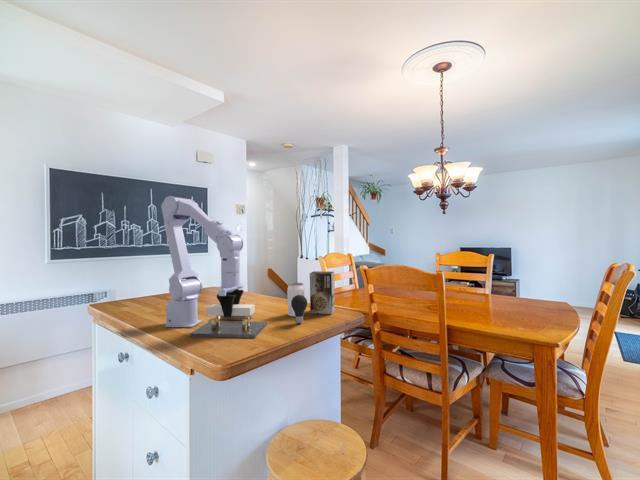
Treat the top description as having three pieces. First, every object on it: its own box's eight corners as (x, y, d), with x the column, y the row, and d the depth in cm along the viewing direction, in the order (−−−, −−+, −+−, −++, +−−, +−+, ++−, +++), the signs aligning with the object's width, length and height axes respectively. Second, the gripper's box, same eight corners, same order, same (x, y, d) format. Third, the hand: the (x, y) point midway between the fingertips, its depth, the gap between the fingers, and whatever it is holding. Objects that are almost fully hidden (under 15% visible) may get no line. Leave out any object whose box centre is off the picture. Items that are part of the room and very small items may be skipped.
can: (301, 317, 114) (301, 285, 114) (285, 316, 115) (285, 284, 115) (306, 313, 120) (305, 282, 120) (290, 312, 121) (290, 282, 121)
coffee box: (335, 310, 124) (334, 271, 124) (332, 314, 118) (332, 273, 118) (313, 309, 126) (313, 270, 126) (309, 313, 120) (309, 272, 120)
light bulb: (292, 326, 102) (292, 296, 102) (290, 321, 108) (290, 293, 108) (308, 325, 103) (308, 296, 103) (306, 321, 109) (305, 293, 109)
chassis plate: (190, 336, 92) (190, 323, 92) (210, 323, 106) (210, 312, 106) (255, 338, 90) (255, 324, 90) (266, 324, 104) (266, 313, 104)
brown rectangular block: (216, 319, 111) (216, 311, 111) (219, 317, 114) (219, 309, 114) (248, 320, 110) (248, 311, 110) (251, 317, 113) (251, 309, 113)
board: (206, 315, 96) (206, 307, 96) (213, 311, 101) (213, 304, 101) (250, 315, 95) (250, 307, 95) (254, 312, 100) (254, 304, 100)
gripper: (234, 274, 90) (235, 320, 90) (249, 269, 105) (249, 309, 105) (211, 274, 91) (212, 320, 91) (229, 269, 105) (229, 309, 105)
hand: (230, 314), depth 98 cm, fingers closed on board, 5 cm apart
